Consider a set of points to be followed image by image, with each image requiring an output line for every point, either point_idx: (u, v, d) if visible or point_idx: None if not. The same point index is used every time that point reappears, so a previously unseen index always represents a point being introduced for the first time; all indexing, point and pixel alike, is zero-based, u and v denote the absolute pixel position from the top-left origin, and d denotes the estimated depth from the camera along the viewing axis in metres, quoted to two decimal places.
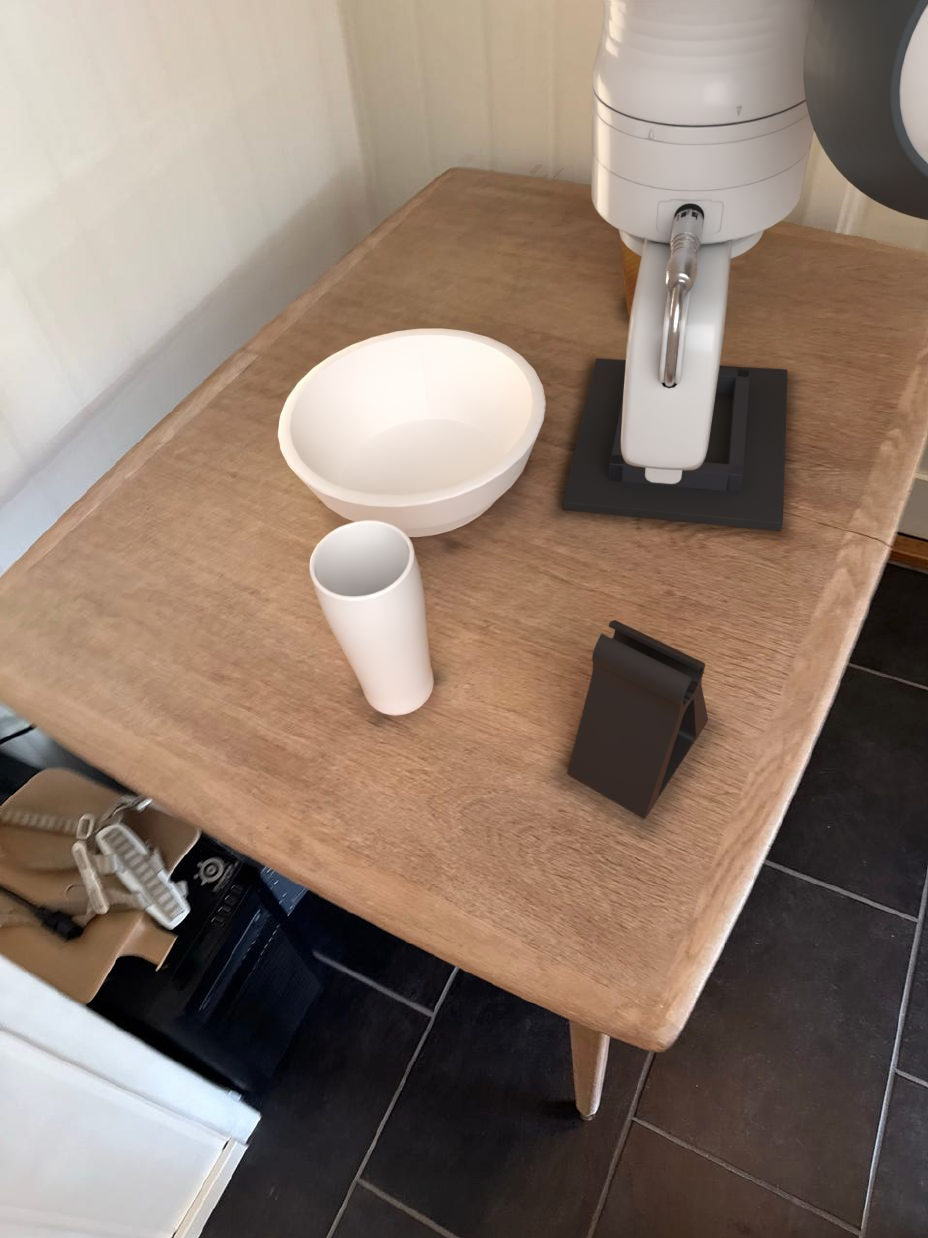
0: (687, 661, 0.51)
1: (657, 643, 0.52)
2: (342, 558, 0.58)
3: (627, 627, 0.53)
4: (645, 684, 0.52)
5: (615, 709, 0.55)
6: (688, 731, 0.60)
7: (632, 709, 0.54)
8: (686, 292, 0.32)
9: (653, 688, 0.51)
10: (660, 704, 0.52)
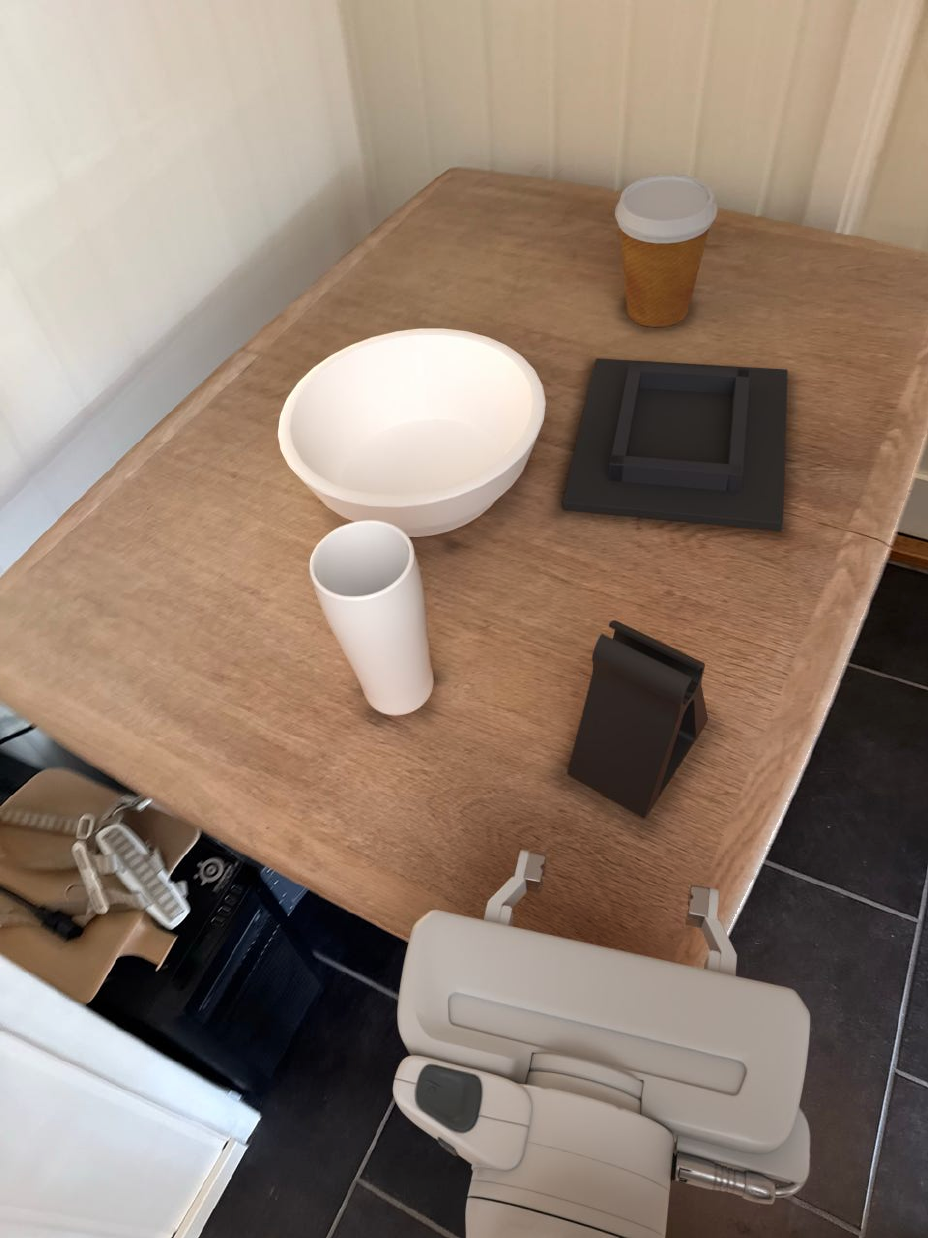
0: (687, 661, 0.51)
1: (657, 643, 0.52)
2: (342, 558, 0.58)
3: (627, 627, 0.53)
4: (645, 684, 0.52)
5: (615, 709, 0.55)
6: (688, 731, 0.60)
7: (632, 709, 0.54)
8: None
9: (653, 688, 0.51)
10: (660, 704, 0.52)
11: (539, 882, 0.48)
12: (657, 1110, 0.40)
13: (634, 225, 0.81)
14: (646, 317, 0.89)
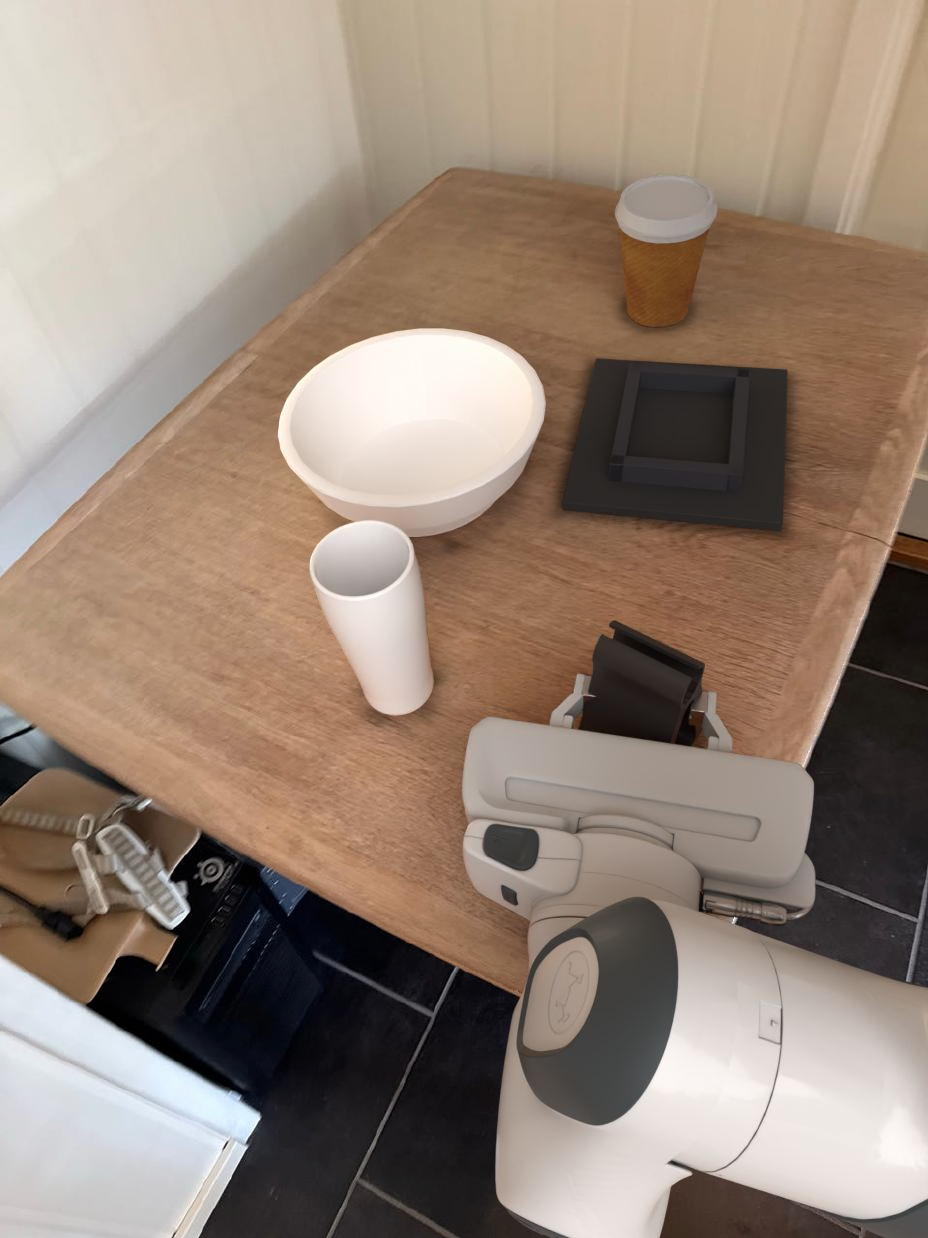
0: (687, 661, 0.51)
1: (657, 643, 0.52)
2: (342, 558, 0.58)
3: (627, 627, 0.53)
4: (645, 685, 0.52)
5: (615, 710, 0.55)
6: (688, 731, 0.60)
7: (632, 709, 0.54)
8: (786, 910, 0.47)
9: (653, 688, 0.51)
10: (660, 704, 0.52)
11: None
12: (686, 854, 0.48)
13: (634, 225, 0.81)
14: (646, 317, 0.89)
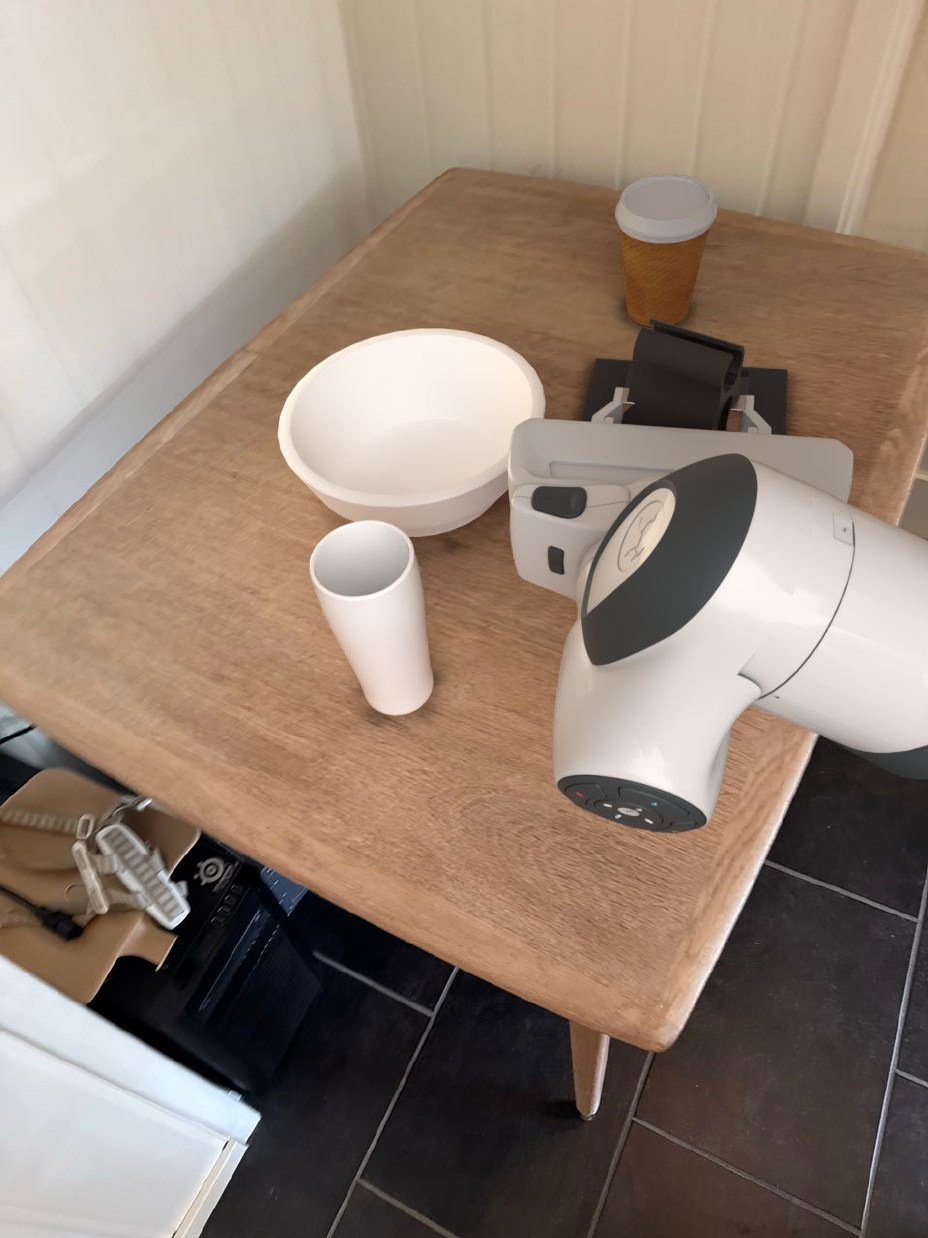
0: (728, 343, 0.52)
1: (697, 332, 0.53)
2: (342, 558, 0.58)
3: (667, 323, 0.54)
4: (686, 371, 0.53)
5: (654, 414, 0.56)
6: None
7: (672, 408, 0.55)
8: None
9: (694, 373, 0.53)
10: (700, 394, 0.53)
11: None
12: None
13: (634, 225, 0.81)
14: (646, 317, 0.89)
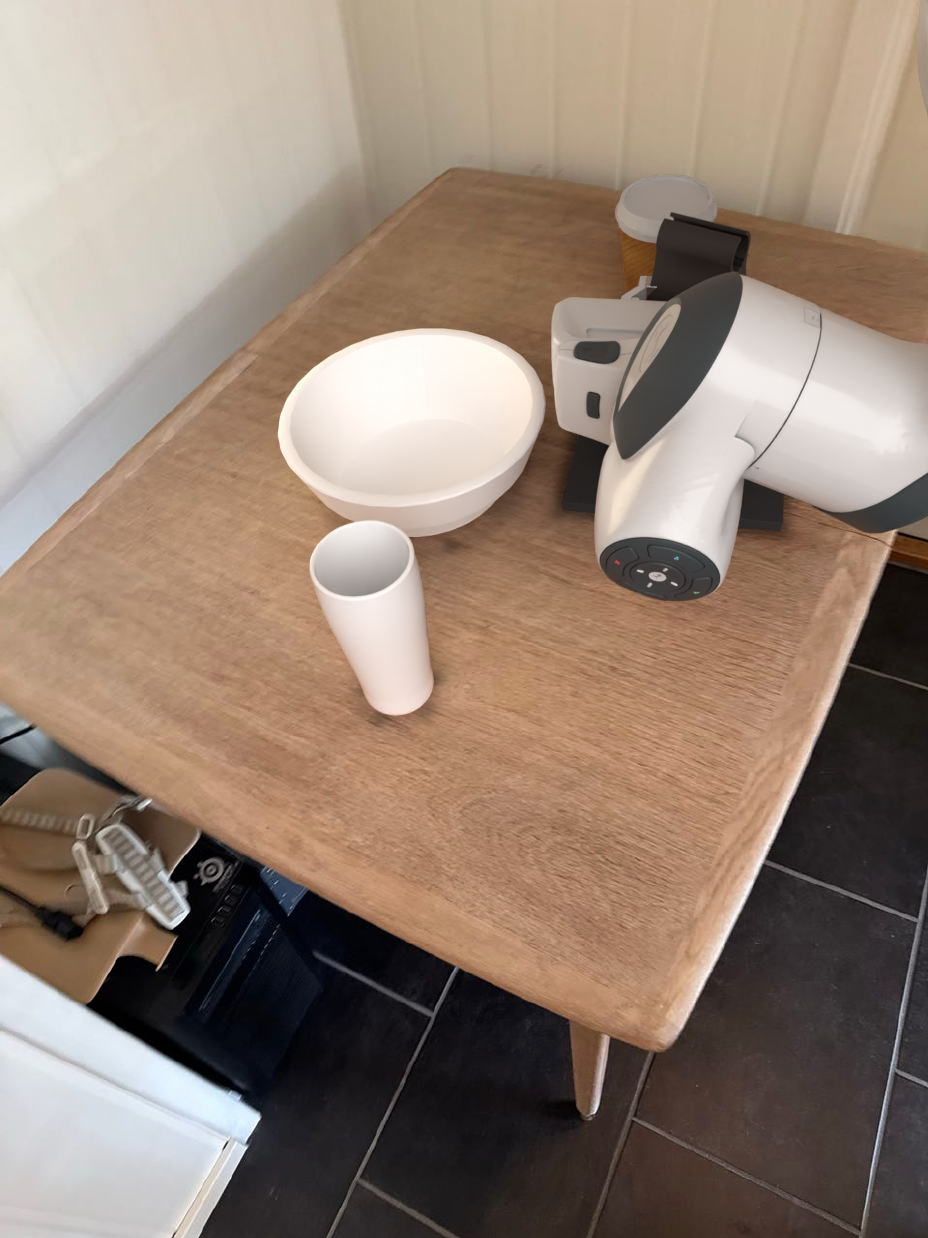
0: (736, 229, 0.62)
1: None
2: (342, 558, 0.58)
3: (685, 215, 0.64)
4: (701, 253, 0.63)
5: (673, 295, 0.66)
6: None
7: None
8: None
9: (708, 255, 0.63)
10: (713, 274, 0.64)
11: None
12: None
13: (634, 225, 0.81)
14: None
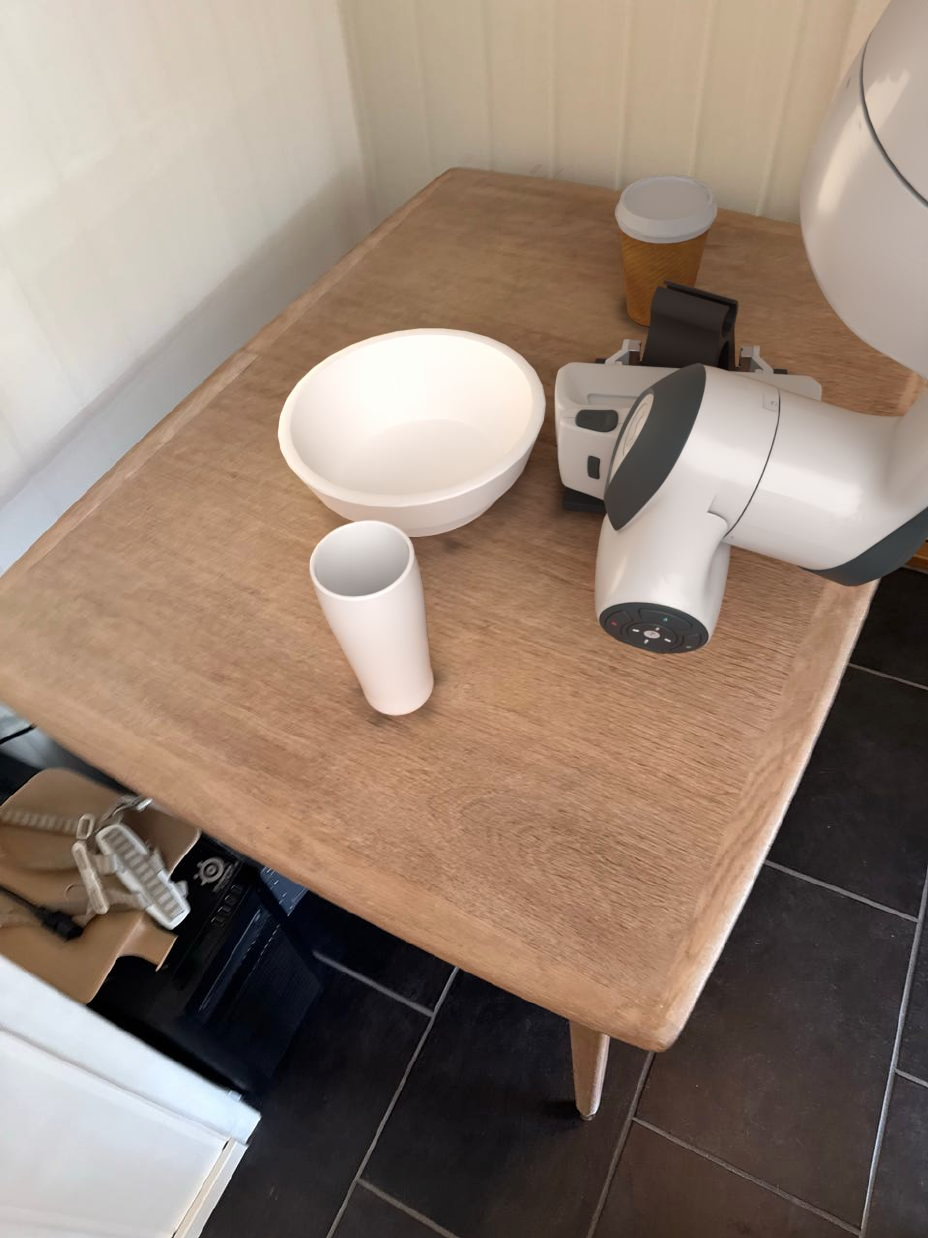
0: (725, 298, 0.67)
1: (701, 290, 0.68)
2: (342, 558, 0.58)
3: (677, 283, 0.69)
4: (692, 320, 0.68)
5: (666, 356, 0.71)
6: None
7: (681, 351, 0.70)
8: None
9: (699, 321, 0.67)
10: (703, 338, 0.68)
11: (638, 352, 0.72)
12: None
13: (634, 225, 0.81)
14: (646, 317, 0.89)
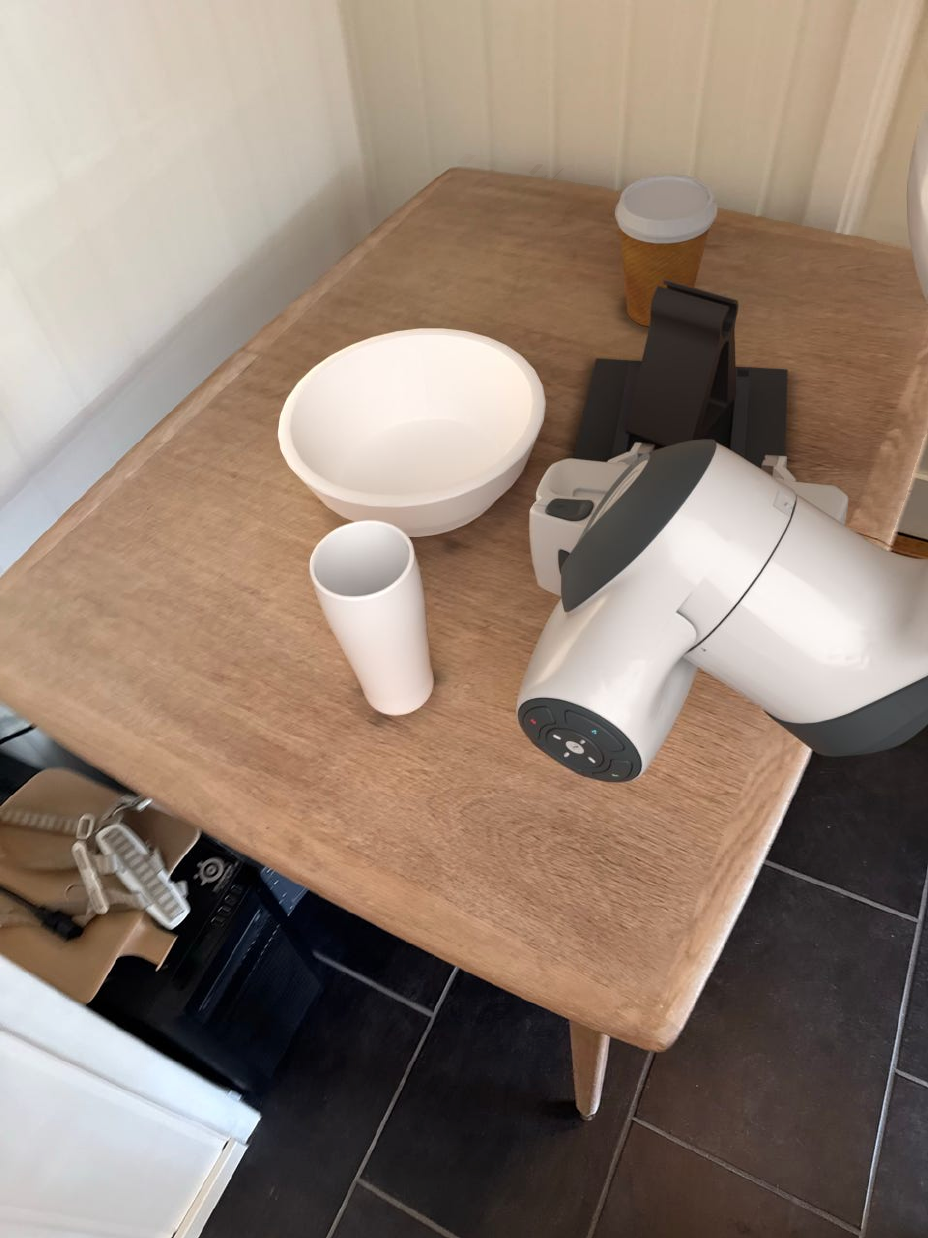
0: (725, 298, 0.67)
1: (701, 290, 0.68)
2: (342, 558, 0.58)
3: (678, 283, 0.69)
4: (692, 320, 0.68)
5: (667, 356, 0.71)
6: (721, 398, 0.76)
7: (681, 351, 0.70)
8: None
9: (699, 321, 0.67)
10: (703, 338, 0.68)
11: None
12: None
13: (634, 225, 0.81)
14: (646, 317, 0.89)
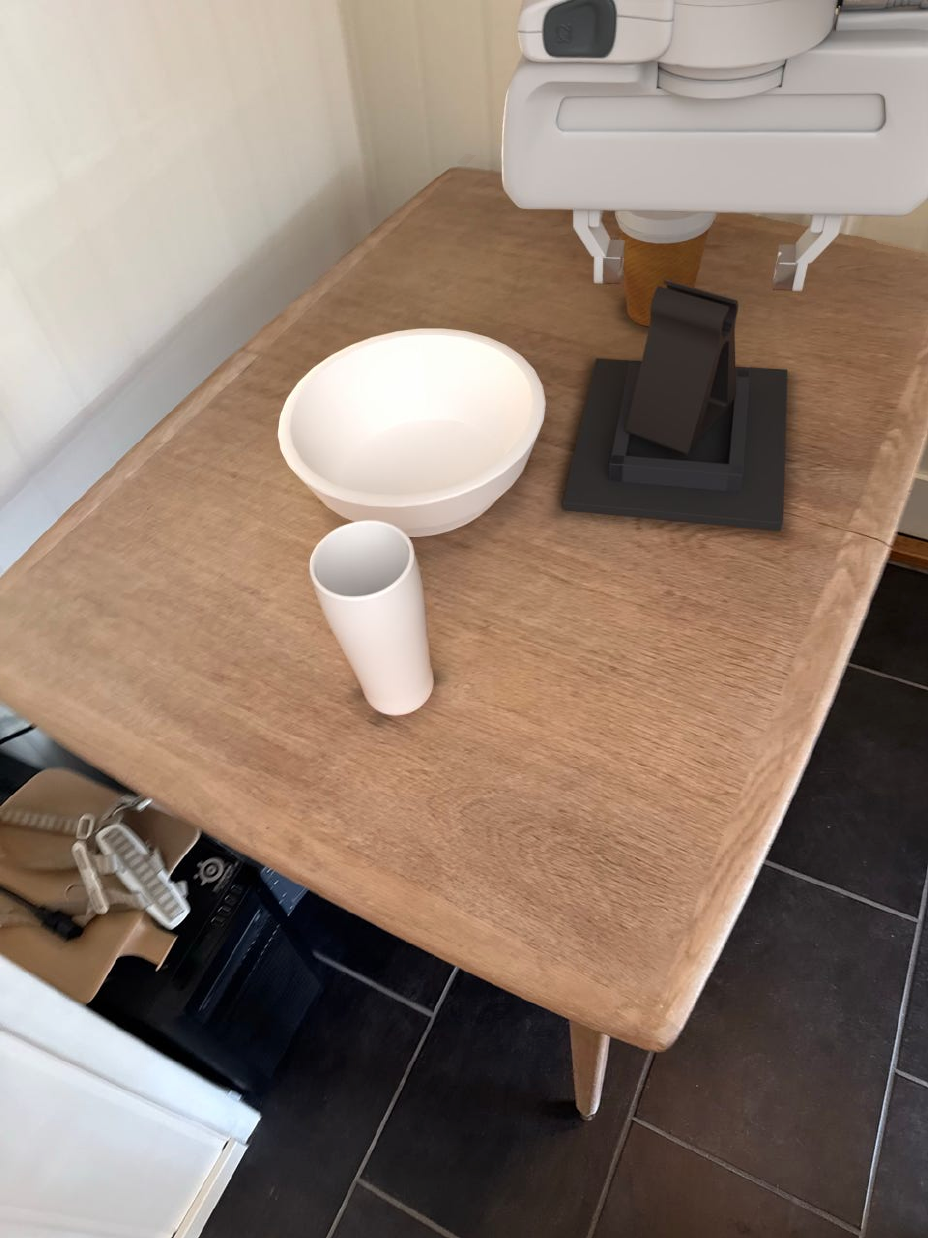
0: (725, 298, 0.67)
1: (701, 290, 0.68)
2: (342, 558, 0.58)
3: (678, 283, 0.69)
4: (692, 320, 0.68)
5: (667, 356, 0.71)
6: (721, 398, 0.76)
7: (681, 351, 0.70)
8: None
9: (699, 321, 0.67)
10: (703, 338, 0.68)
11: (623, 242, 0.48)
12: None
13: (634, 225, 0.81)
14: (646, 317, 0.89)
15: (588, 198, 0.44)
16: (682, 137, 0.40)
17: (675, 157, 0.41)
